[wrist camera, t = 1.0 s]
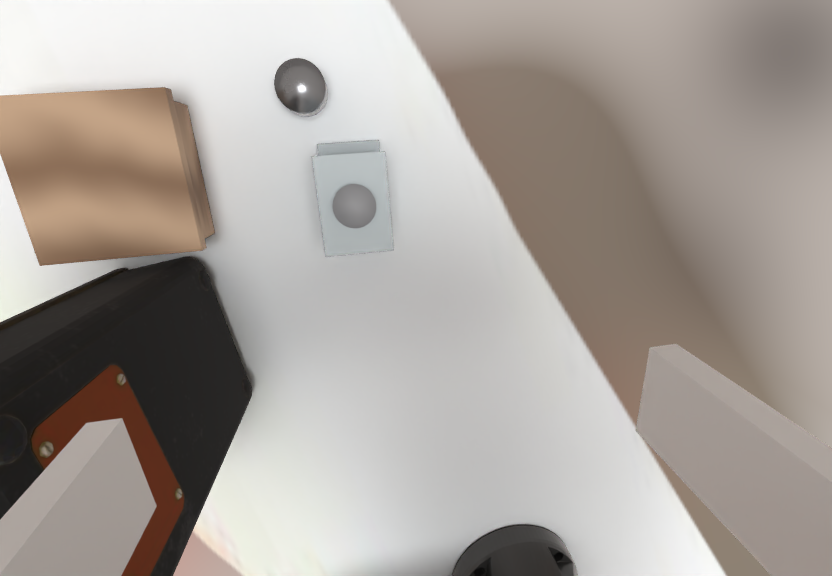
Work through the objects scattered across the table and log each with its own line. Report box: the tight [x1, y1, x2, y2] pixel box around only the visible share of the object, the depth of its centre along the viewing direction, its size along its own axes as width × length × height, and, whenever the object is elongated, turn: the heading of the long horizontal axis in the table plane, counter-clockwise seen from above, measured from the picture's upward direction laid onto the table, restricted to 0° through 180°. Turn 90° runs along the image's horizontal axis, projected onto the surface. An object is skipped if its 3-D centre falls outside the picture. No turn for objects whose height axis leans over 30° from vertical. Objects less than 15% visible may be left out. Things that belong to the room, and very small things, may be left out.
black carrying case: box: [0, 257, 252, 576], centre depth 26 cm, size 16×9×25 cm, turn 12°
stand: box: [0, 87, 215, 266], centre depth 31 cm, size 11×11×5 cm
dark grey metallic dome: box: [274, 58, 328, 116], centre depth 32 cm, size 4×4×3 cm
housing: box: [312, 140, 394, 257], centre depth 33 cm, size 9×5×8 cm, turn 4°
